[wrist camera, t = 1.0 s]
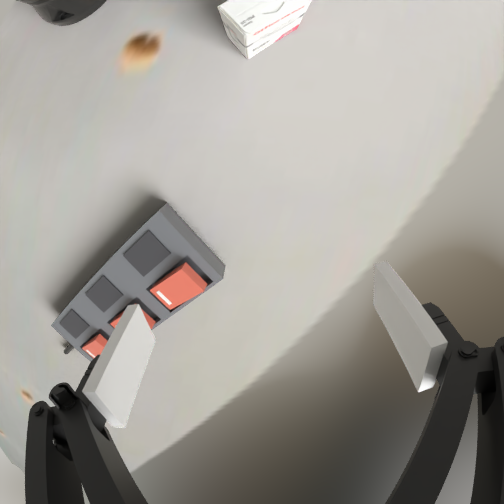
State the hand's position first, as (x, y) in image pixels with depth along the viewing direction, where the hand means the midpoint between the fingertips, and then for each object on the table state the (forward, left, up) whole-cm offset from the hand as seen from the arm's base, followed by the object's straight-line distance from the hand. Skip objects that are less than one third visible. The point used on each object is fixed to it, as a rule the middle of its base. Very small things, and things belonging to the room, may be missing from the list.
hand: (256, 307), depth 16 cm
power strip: (0, -33, -27) cm, 43 cm away
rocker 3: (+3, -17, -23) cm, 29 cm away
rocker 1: (+3, -40, -23) cm, 46 cm away
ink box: (-17, +15, -28) cm, 36 cm away
